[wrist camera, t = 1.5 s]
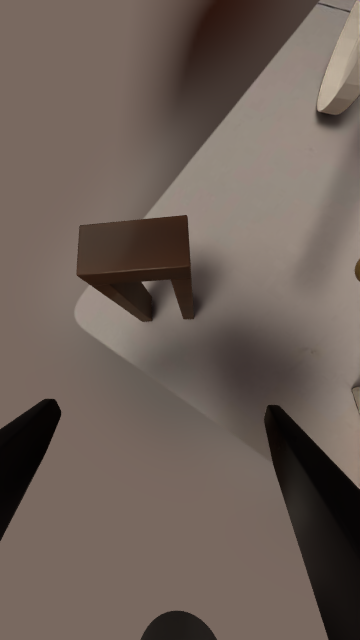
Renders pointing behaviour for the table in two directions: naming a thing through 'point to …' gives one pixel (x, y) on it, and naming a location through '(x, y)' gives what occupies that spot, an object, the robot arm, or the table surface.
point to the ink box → (357, 396)
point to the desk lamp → (343, 69)
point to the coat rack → (357, 270)
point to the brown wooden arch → (137, 261)
